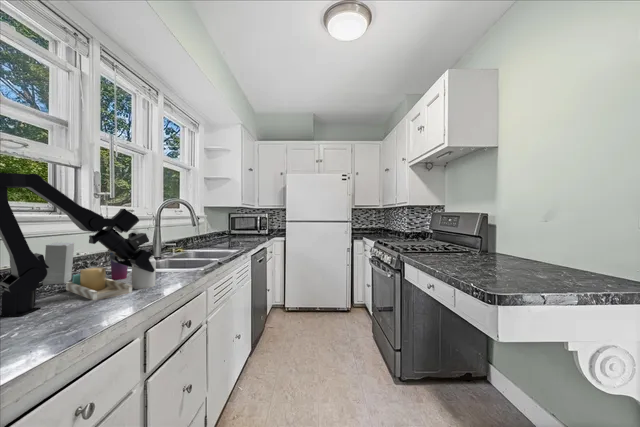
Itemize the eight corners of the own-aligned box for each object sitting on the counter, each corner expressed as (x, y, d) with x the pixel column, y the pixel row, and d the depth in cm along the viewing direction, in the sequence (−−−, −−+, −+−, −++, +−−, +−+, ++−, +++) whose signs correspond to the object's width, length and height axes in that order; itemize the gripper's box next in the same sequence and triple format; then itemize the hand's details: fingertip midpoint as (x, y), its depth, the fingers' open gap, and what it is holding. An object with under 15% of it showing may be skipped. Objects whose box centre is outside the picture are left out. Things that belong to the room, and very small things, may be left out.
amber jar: (97, 291, 98) (98, 271, 98) (74, 292, 97) (75, 271, 97) (109, 286, 105) (110, 267, 105) (88, 286, 104) (89, 267, 104)
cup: (104, 281, 116) (105, 244, 116) (120, 278, 123) (121, 243, 123) (117, 282, 114) (118, 245, 114) (133, 279, 121) (133, 243, 121)
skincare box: (51, 282, 113) (52, 242, 113) (74, 281, 116) (75, 241, 116) (41, 287, 105) (42, 244, 105) (66, 285, 108) (67, 243, 108)
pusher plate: (101, 284, 106) (102, 271, 106) (73, 289, 99) (73, 275, 99) (100, 284, 107) (101, 271, 107) (72, 288, 100) (72, 275, 100)
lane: (131, 294, 97) (132, 285, 97) (93, 302, 88) (93, 292, 88) (102, 285, 109) (103, 277, 109) (65, 292, 99) (66, 282, 99)
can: (159, 286, 109) (160, 255, 109) (145, 291, 102) (146, 257, 102) (141, 285, 110) (142, 254, 110) (126, 290, 102) (127, 257, 102)
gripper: (147, 226, 98) (177, 255, 107) (121, 225, 107) (150, 251, 117) (121, 251, 91) (155, 280, 100) (95, 247, 101) (128, 274, 110)
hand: (147, 270), depth 107 cm, fingers closed on can, 7 cm apart
